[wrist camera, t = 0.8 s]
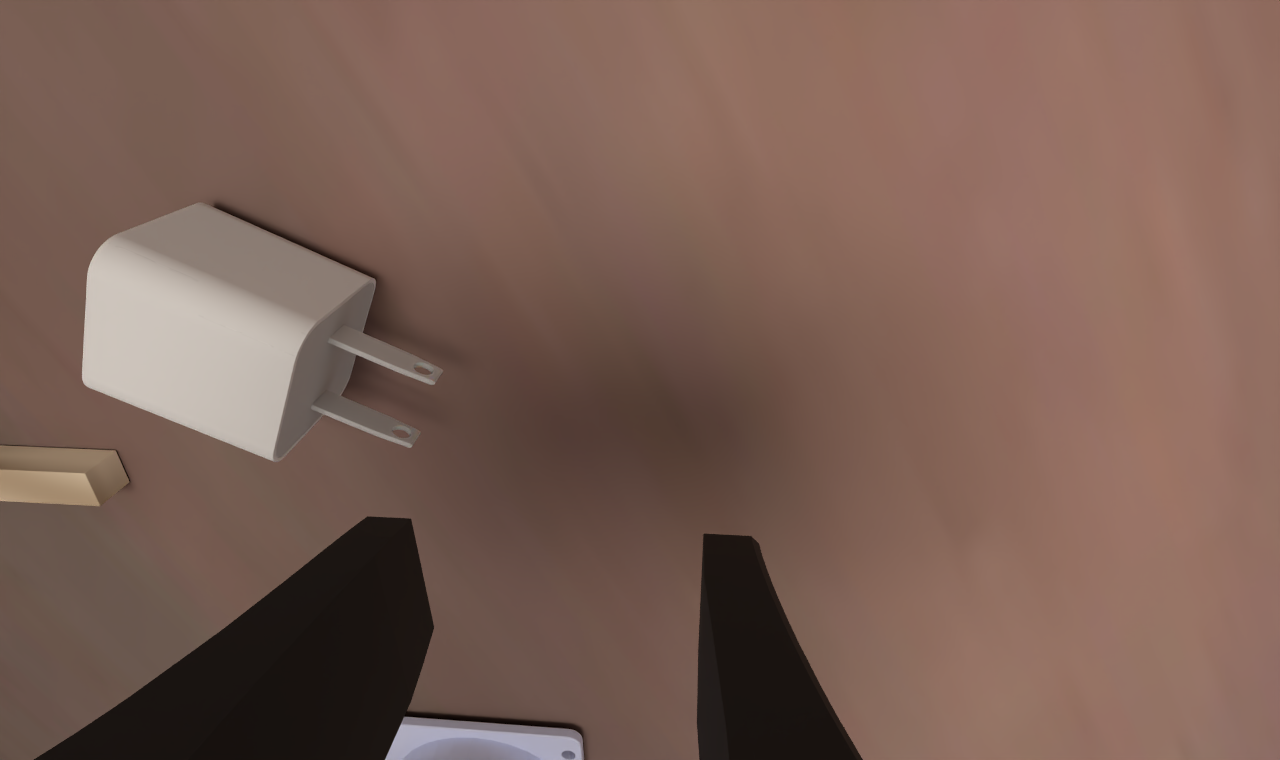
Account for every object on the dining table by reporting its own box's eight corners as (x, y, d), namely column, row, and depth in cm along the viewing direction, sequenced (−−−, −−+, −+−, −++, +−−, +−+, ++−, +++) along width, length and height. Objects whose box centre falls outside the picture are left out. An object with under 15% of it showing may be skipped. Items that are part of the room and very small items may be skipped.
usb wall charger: (215, 195, 17) (89, 244, 14) (475, 312, 18) (419, 386, 15) (196, 327, 19) (80, 400, 16) (433, 427, 20) (374, 516, 16)
